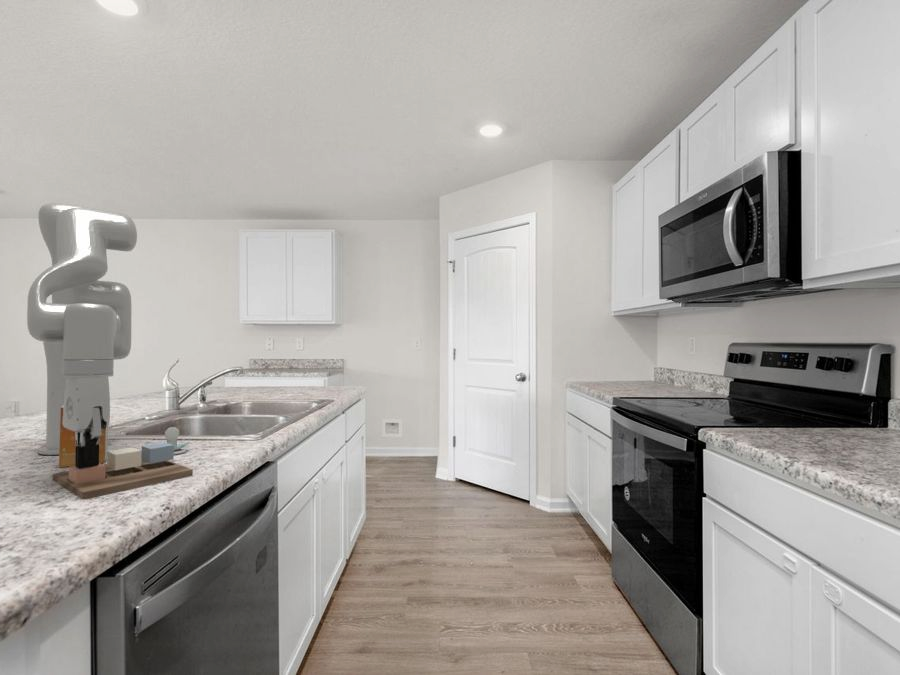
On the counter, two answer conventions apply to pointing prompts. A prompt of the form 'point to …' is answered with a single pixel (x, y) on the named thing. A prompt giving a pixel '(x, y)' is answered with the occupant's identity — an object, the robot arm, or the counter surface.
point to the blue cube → (157, 452)
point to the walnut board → (124, 478)
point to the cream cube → (123, 458)
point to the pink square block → (86, 474)
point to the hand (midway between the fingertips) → (87, 466)
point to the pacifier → (174, 440)
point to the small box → (69, 445)
